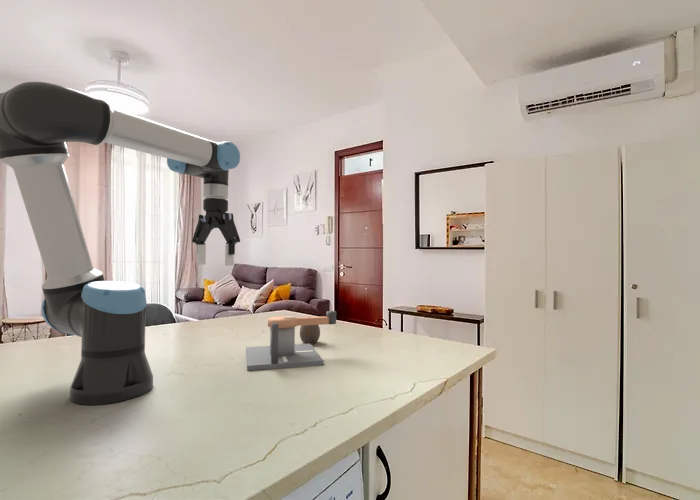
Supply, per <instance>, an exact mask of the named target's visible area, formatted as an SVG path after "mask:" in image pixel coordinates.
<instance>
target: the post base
mask: <svg viewBox="0 0 700 500" xmlns="http://www.w3.org/2000/svg"><path fill="white" fill-rule="evenodd" d="M278 325H279V324H278V323H273V324H272V328H271V327H269V329H270V330H269V345H262V346H261V345H260V346H245V356H246V357H245V358H246V359H245V360H246V371H259V370H270V369H271V370H272V369H273V370H274V369H286V368H299V367H312V366H323V365H324V358H322V357H321V355H319V353H318V352H317V350H316V349H315V348H314V347H313V344H304V343H296V344H295V339H296V338H295V335H296V328H295V327H292V328H278Z"/></svg>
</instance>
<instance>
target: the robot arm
mask: <svg viewBox="0 0 700 500" xmlns="http://www.w3.org/2000/svg"><path fill="white" fill-rule="evenodd" d="M69 142H70V143H73V142H74V143H85V144H89V145H93V146H100V145H102V144H104V143H106V144H110V145H113V146H118V147H121V148H126V149H130V150H134V151H138V152H141V153H145V154H149V155H153V156H158V157H162V158H166V164H167V167H168V168H169V170H170V171H172V172H174V173H177V174H180V175H186V176H192V177H196V178H197V177H198V178H202V179H203V189H202V191H203V193H202V196H203V198H204V199H203V200H202V201H203V202H202V203H203V204H202V207H203V211H204V212H205V214H199V215H198V219H197V225H196V227H195V231H194V234H193V237H192V239H191V242H192V243H194V244H195V245H196V255H197V256H196V265H197V266H198V265H201V266H202V265H206V261H207V260H206V257H207V256H206V254H207V253H206V251H207V250H206V249H207V246H206V241H207V239H208V238H209V236H210V234H211V232H212V230H215V229H219V231H220V232H221V234H222V236H223V237H224V240H225V241H226V242H225V246H224V247H225V249H224V251H225V252H224V253H225V255H224V259H225V261H224V265H225V266H228V267H229V266H234V263H235V260H234V258H235V254H236V252H235V251H236V245H237V243H240V242H241V238H240V236H239V233H238V230H237V225H236V224H235V219H234V214H233V213H232V212H229V201H228V199H229V172H230V171H229V170H233V169H235V168H237V167H238V165H240V162H241V152H240V150H239V148H238V146H237V145H236V144H234V143H233V142H232V141H220V142H217V141H213V140H210V139H207V138H204V137H200V136H198V135H195V134H192V133H188V132H186V131H183V130H180V129H176V128H174V127H171V126H168V125H165V124H162V123H158V122H157V121H153V120H151V119H147V118H145V117H141V116H138V115H135V114H132V113H130V112H126V111H123V110H120V109H117V108H115V107H111V106H110V104H109V102H108V101H107V100H105V99H103V98H100V97H98V96H97V97H96V96H94V95H92V94H89V93H86V92H83V91H79V90H76V89H74V88H73V89H72V88H70V87H67V86H63V85H59V84H55V83H50V82H45V81H44V82H43V81H27V82H26V81H25V82H22V83H19V84H17V85H15V86H13V87H12V88H10V89H8V90H5V91H3V92H0V161H1V163H4V164H5V165H7V166H8V167H10V168H12V170H13V172H14V176H15V178H16V182H17V185H18V188H19V191H20V194H21V198H22V201H23V204H24V207H25V210H26V213H27V216H28V220H29V223H30V225H31V229H32V233H33V235H34V239H35V242H36V245H37V248H38V251H39V254H40V257H41V260H42V264H43V267H44V269H45V273H46V276H47V278H46V280H45V281H44V283H43V284H42V285H41V289H42V292H43V295H44V299H43V301H42V304H41V314H42V318H43V319H44V321H45V323H46V324H47V325H48V326H49V327H50V328H52V329H53V330H55V331H57V332H59V333H60V334H64V335H65V334H66V336H76V337H80V338H81V344H80V346H81V352H80V354H81V355H80V361H79V364H78V367H77V370H76V373H75V375H74V377H73V380H72V382H71V385H70V388H69V400H70V401H71V402H72V403H75V404H79V405H89V406H90V405H105V404H112V403H118V402H123V401H127V400H130V399H133V398H136V397H140V396H142V395H143V394H146V393H148V392H149V391H150V390H152V388H153V386H154V374H153V372H152V369H151V366H150V363H149V361H148V357H147V354H146V352H145V350H146V349H145V347H146V309H147V308H146V307H147V296H146V290H145V288H144V287H143V286H142V285H141V284H138V283H135V282H131V281H119V280H105V277H104V273H103V271H100V270H98V269H97V268H95V267H94V266H93V262H92V259H91V256H90V253H89V249H88V246H87V242H86V238H85V235H84V232H83V228H82V224H81V222H80V218H79V214H78V211H77V207H76V204H75V201H74V197H73V193H72V190H71V187H70V183H69V180H68V179H69V178H68V176H67V173H66V169H65V165H64V164H65V162H66V161H67V159H69V157H70V154H69V151H68V146H67V144H66V143H69Z"/></svg>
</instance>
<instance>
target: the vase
mask: <svg viewBox="0 0 700 500" xmlns="http://www.w3.org/2000/svg"><path fill="white" fill-rule="evenodd" d="M320 328H321V327H320V325H300V328H299V337H300V338H299V339H300V340H301V342H302V344H311V345H315V344H316V343H317V342H318V341H319V340H320V336H321V329H320Z"/></svg>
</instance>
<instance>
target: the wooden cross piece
mask: <svg viewBox="0 0 700 500" xmlns="http://www.w3.org/2000/svg"><path fill="white" fill-rule="evenodd" d="M273 323H278V324H279V325H278V328H292V327H298V326H301V325H319V326H321V325H336V324H337V311H336V310H327V311H326V316H324V315H322V316H301V317H300V316H298V317H295V316H289V315H287V316H286V315H283V316H281V315H278V316H272V317H269V318H267V327H268V328H270V327H271V328H272V324H273Z"/></svg>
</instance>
